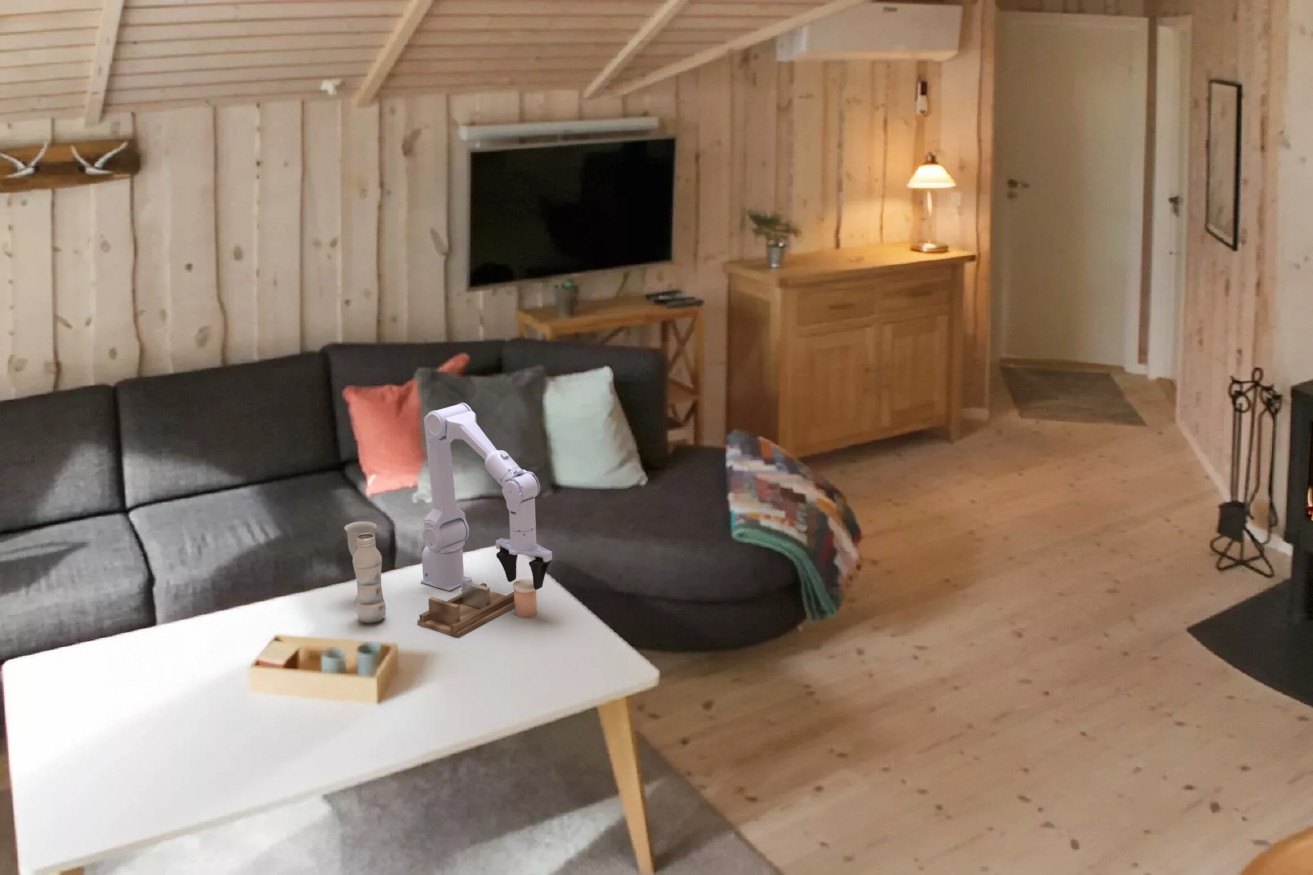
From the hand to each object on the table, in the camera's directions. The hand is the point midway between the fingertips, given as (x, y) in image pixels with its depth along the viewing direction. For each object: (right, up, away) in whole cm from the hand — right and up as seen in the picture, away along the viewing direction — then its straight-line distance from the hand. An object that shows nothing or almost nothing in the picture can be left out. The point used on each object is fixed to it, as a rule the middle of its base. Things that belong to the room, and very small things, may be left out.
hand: (525, 584), depth 295 cm
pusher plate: (-11, -5, +3) cm, 13 cm away
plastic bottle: (-34, -8, -1) cm, 35 cm away
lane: (-13, -7, +2) cm, 14 cm away
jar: (0, -7, +2) cm, 7 cm away
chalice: (-37, -5, +9) cm, 39 cm away
